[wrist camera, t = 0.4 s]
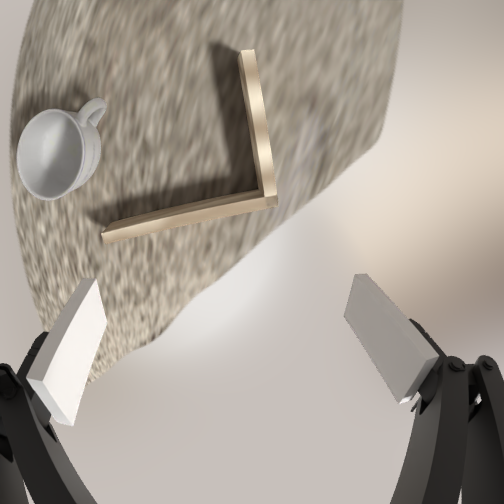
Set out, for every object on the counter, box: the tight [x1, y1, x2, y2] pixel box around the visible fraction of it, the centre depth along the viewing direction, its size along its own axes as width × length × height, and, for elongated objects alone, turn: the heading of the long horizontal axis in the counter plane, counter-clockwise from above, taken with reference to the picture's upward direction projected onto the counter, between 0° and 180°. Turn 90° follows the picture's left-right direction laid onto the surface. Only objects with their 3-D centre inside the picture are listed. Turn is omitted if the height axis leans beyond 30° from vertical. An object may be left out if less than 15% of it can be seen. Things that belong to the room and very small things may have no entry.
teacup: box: [16, 97, 107, 200], centre depth 27 cm, size 14×11×8 cm
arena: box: [102, 49, 279, 244], centre depth 31 cm, size 20×22×4 cm
